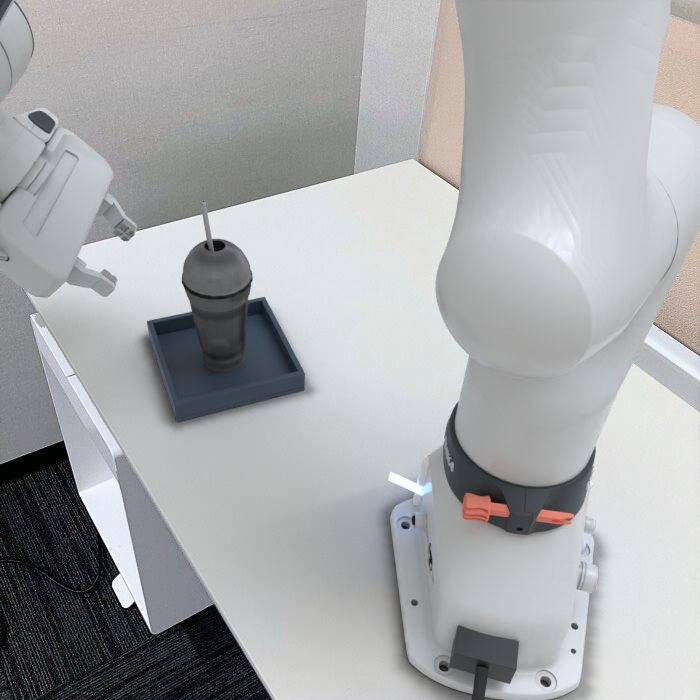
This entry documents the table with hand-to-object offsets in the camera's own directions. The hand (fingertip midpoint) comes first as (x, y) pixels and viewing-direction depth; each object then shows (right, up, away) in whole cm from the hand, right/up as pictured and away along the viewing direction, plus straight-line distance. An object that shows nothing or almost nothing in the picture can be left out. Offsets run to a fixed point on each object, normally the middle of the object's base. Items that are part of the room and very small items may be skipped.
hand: (123, 260), depth 75 cm
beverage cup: (+9, -10, +9) cm, 16 cm away
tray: (+9, -11, +9) cm, 17 cm away
